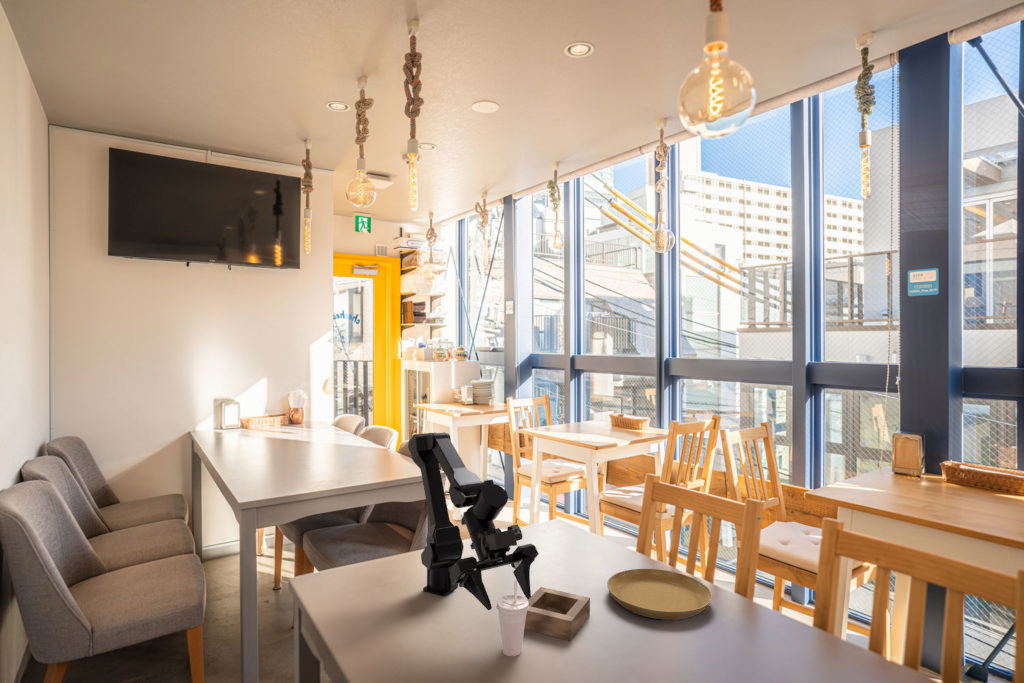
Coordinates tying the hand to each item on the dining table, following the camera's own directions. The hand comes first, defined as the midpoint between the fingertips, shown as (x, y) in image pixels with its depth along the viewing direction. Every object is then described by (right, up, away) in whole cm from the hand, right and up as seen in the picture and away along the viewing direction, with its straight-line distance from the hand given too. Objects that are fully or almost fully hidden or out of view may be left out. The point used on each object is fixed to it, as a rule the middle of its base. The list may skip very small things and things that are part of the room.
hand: (510, 603), depth 112 cm
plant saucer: (+35, -10, +22) cm, 43 cm away
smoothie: (0, -9, -1) cm, 9 cm away
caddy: (+10, -9, +11) cm, 17 cm away
